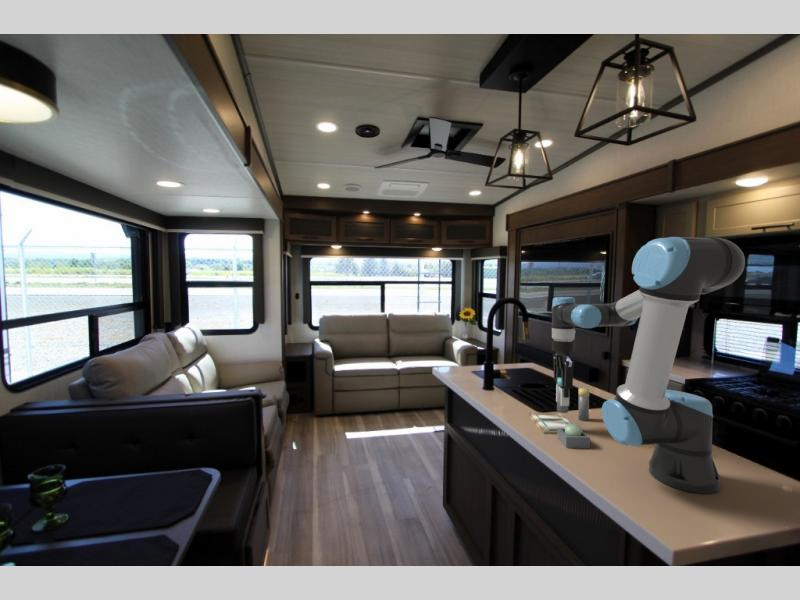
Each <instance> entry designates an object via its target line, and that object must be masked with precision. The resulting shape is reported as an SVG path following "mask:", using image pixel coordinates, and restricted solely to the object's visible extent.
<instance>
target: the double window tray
mask: <svg viewBox="0 0 800 600" xmlns="http://www.w3.org/2000/svg"><path fill="white" fill-rule="evenodd" d="M528 417H529V418H530V419H531V420H532V422H533V423H534V424H535V425H536V426H537V427H538V428H539V430H540V431H541V432H542V433H543V434H550V435H551V434H552V435H553V434H554V435H555V434H556V435H557V428H565V425H566V424H573V423H572V422H571V421H570V420H569V419H568V418H567V417H566V416H564V414H563V413H553V412H552V413H544V412H543V413H542V412H541V413H540V412H538V413H536V412H535V413H528Z"/></svg>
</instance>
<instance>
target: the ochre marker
mask: <svg viewBox="0 0 800 600" xmlns="http://www.w3.org/2000/svg"><path fill="white" fill-rule="evenodd" d="M577 391H578V411H577V412H578V413H577V414H578V420H579V421H582V422H588V421H589V420H590V418H589V417H590V389H589V388H586V387H579V388H578V390H577ZM589 422H590V421H589Z"/></svg>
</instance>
